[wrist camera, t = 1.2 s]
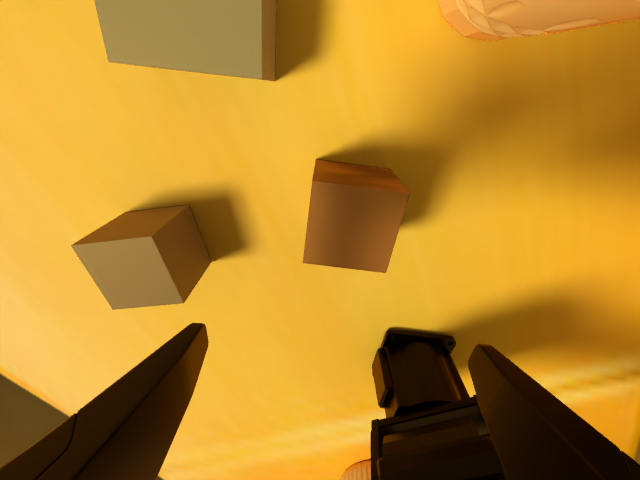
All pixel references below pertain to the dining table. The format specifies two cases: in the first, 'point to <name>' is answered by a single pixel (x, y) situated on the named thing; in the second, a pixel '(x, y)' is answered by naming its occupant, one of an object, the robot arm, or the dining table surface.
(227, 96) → the dining table surface
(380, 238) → the walnut block
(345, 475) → the ramekin
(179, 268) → the brown block
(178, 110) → the dining table surface
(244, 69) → the base block
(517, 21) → the white cup
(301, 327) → the dining table surface
